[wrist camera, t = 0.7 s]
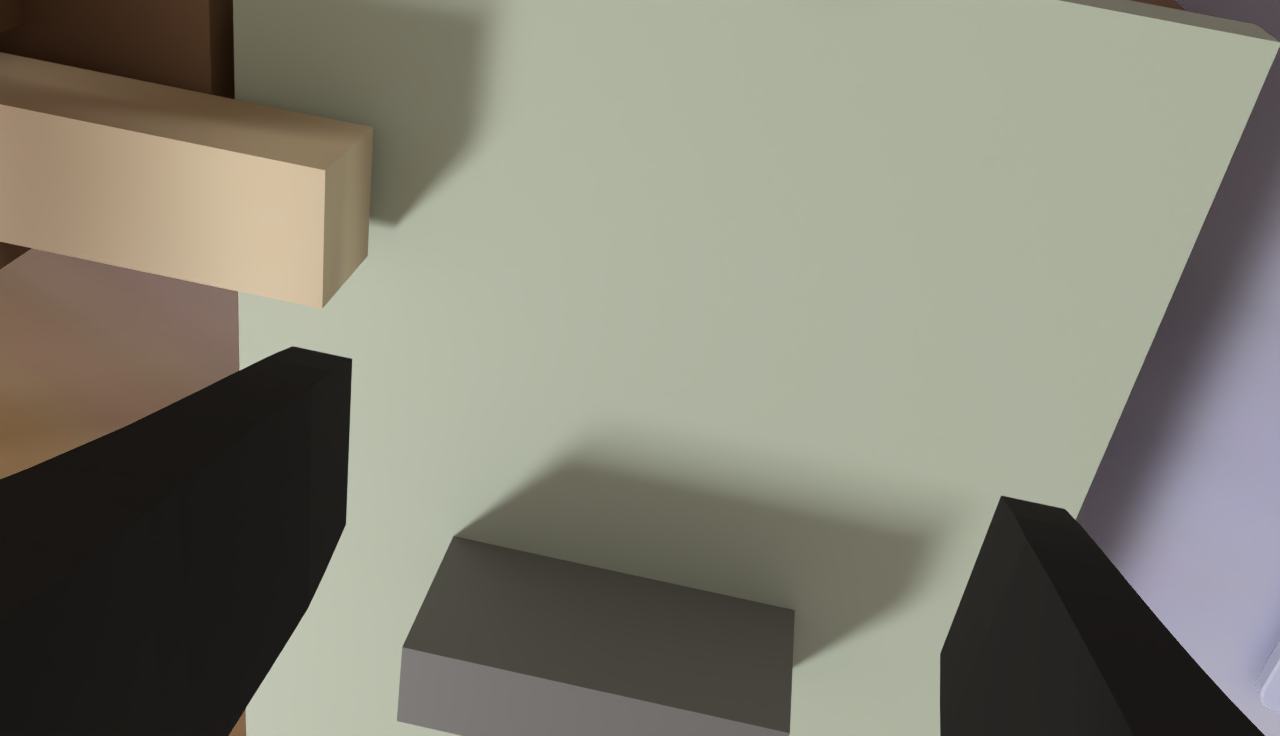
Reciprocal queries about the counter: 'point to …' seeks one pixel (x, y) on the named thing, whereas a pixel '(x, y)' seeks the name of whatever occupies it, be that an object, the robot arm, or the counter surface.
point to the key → (181, 182)
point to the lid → (719, 338)
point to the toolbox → (140, 43)
